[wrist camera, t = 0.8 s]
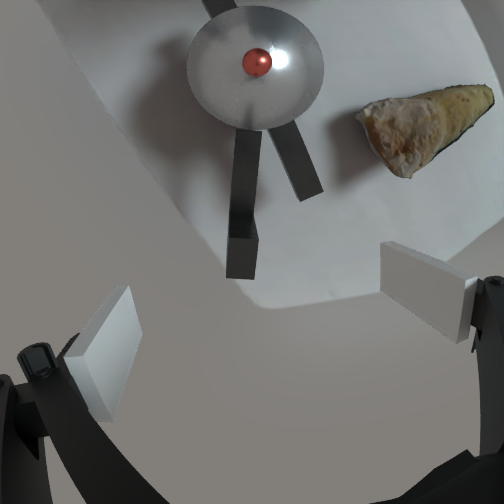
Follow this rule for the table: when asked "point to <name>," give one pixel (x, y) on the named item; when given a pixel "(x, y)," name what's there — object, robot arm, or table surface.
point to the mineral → (422, 124)
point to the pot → (283, 136)
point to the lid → (252, 100)
